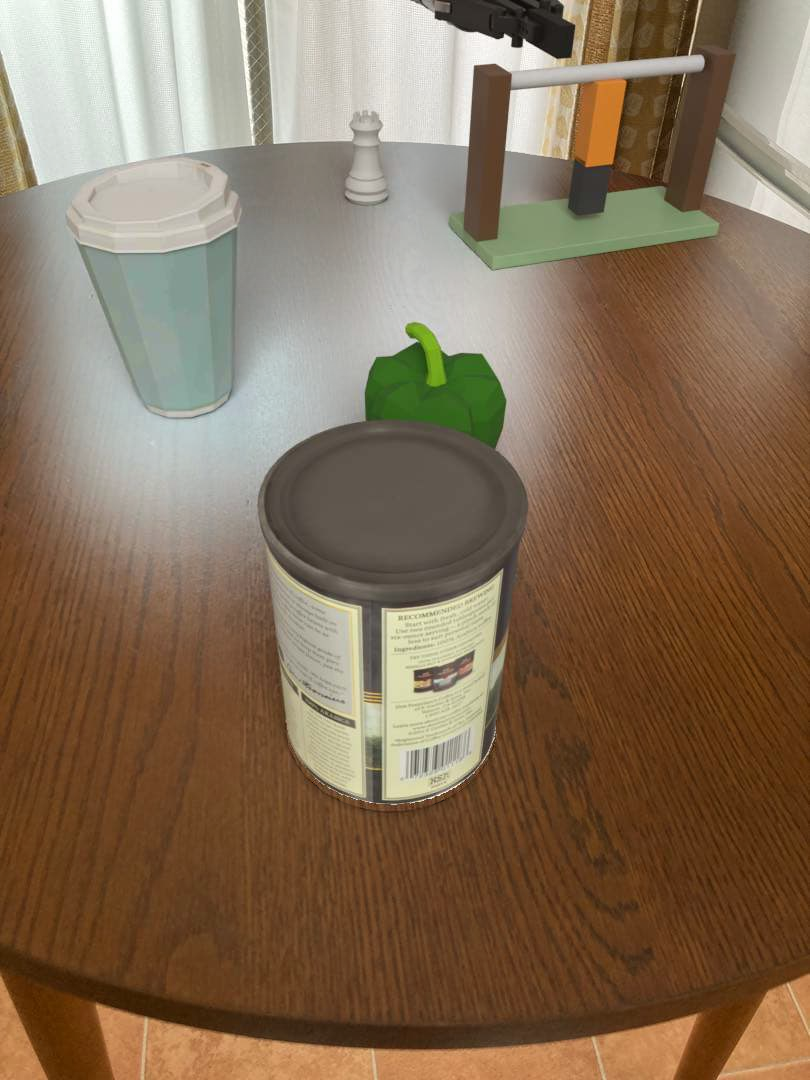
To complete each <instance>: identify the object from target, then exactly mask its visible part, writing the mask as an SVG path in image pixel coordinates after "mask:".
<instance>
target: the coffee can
mask: <svg viewBox="0 0 810 1080" xmlns="http://www.w3.org/2000/svg"><path fill="white" fill-rule="evenodd" d="M528 514H529V499H528V494H527V489H526V488H525V485H524V482H523V480H522V479H521V476H520V475H519V473H518V471H517V470H516V468H515V467H514V466H513V465H512V464H511V462H510V461H509V460H508V459H507V458H506V457H505V456H504V455H502V453H500V452H499V451H498V450H496V449H493V448H492V447H491V446H489V445H488V444H486V443H484V442H483V441H481V440H479V439H477V438H475V437H473V436H470V435H468V434H466V433H464V432H461V431H457V430H455V429H452V428H449V427H446V426H442V425H438V424H433V423H428V422H422V421H413V420H371V421H366V420H364V421H357V422H351V423H346V424H342V425H338V426H334V427H331V428H328V429H326V430H323V431H321V432H317V433H315V434H313V435H311V436H309V437H308V438H305V439H304V440H301V441H300V442H298V443H297V444H295V445H292V446H291V448H289V449H288V450H287V451H285V452H284V453H283V454H282V455H281V456H280V457H279V458H278V459H276V461H275V462H274V463H273V464H272V466H271V467H269V470H268V471H267V472H266V474H265V476H264V478H263V479H262V482H261V484H260V487H259V491H258V496H257V515H258V521H259V525H260V526H259V527H260V530H261V533H262V535H263V538H264V543H265V552H266V561H267V570H268V578H269V589H270V594H271V603H272V611H273V619H274V629H275V636H276V646H277V652H278V661H279V669H280V679H281V688H282V696H283V705H284V713H285V722H286V723H287V730H288V735H289V739H290V742H291V745H292V747H293V749H294V751H295V753H296V755H297V757H298V758H299V760H300V761H301V763H302V764H303V765H304V766H305V768H307V770H308V771H309V772H310V773H311V774H312V775H313V776H314V777H315V779H317V780H318V781H319V782H321V783H322V784H323V785H326V786H327V787H328V788H329V789H332V790H334V791H336V792H338V793H339V794H341V795H345V796H347V797H351V798H353V799H356V800H358V799H359V800H362V801H365V802H369V803H376V804H391V805H397V804H404V803H410V804H411V803H415V802H421V801H424V800H426V799H432V798H434V797H435V796H440V795H441V794H443V793H446V792H448V791H449V790H452V789H453V788H456V787H457V786H458V785H460V784H461V783H462V782H464V781H465V780H466V779H468V778H469V777H470V776H471V775H472V774H474V773H475V771H476V770H477V769H478V768H479V766H480V765H481V764H482V763H483V761H484V760H485V758H486V756H487V755H488V754H489V751H490V748H491V746H492V743H493V741H494V739H495V737H494V736H495V733H496V731H495V730H496V720H497V721H498V711H499V705H500V698H501V691H502V690H501V689H502V682H503V675H504V674H503V673H504V665H505V658H506V651H507V643H508V636H509V627H510V620H511V613H512V605H513V597H514V590H515V582H516V575H517V567H518V560H519V559H518V558H519V552H520V544H521V542H522V539H523V536H524V534H525V530H526V526H527V523H528V516H529V515H528Z"/></svg>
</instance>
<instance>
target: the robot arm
mask: <svg viewBox="0 0 810 1080" xmlns="http://www.w3.org/2000/svg"><path fill="white" fill-rule="evenodd" d="M410 2H414V3H415V4H418V5H420V6H423V7H424V8H425V9H426V10H429V11H430V12H432V13H433V14H434V20H437V21H443V22H446V24H447V25H449V26H452V27H454V28H456V29H457V30H459V31H461V32H465V33H479V34H481V35H484V36H486V37H490V38H492V39H494V40H501V39H504V38H505V35H506V36H507V37H509V38H511V41H510V47H511V48H513V49H521V48H523V47H524V40H525V42H526V43H528V44H530V45H532V46H534V47H535V48H536V49H538V50H541V51H542V52H544V53H546V54H547V55H549V56H551V57H553V58H554V59H556V60H563V59H572V56H573V47H574V42H575V33H576V24H575V23H573V22H571V21H569V20H567V19H565V18H564V11H565V5H564V4H563V3H562V2H561V1H560V0H410Z"/></svg>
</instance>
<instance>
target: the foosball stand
mask: <svg viewBox="0 0 810 1080" xmlns="http://www.w3.org/2000/svg"><path fill="white" fill-rule="evenodd" d="M693 55H702V56H703V57H704V61H705V63H704V68H703V70H702V71H701V72H698V73H689V79H688V83H687V89H686V93H685V98H684V103H683V108H682V113H681V118H680V122H679V127H678V131H677V135H676V141H675V146H674V149H673V150H674V151H673V154H672V155H673V156H672V161H671V165H670V171H669V173H668V174H669V175H668V180H667V185H666V187H665V186H663V185H658V186H650V187H643V188H635V189H634V188H633V189H626V190H620V191H613V192H612V191H611V192H607V196H606V202H605V208H604V212H603V213H595V214H588V215H581V216H577V215H576V214H575V213H573V212H572V211H571V210H570V209H568V202H569V197H568V198H560V199H553V200H546V201H544V200H543V201H537V202H531V203H523V204H515V205H507V206H501V204H502V203H501V202H502V191H503V181H504V180H503V179H504V170H505V169H504V168H505V159H506V147H507V136H508V135H507V134H508V124H509V123H508V122H509V111H510V102H511V101H510V100H511V91H512V90H511V80H512V74H511V73H510V71H508V70H506V69H505V68H503V67H502V66H500V65H499V64H497V63H486V64H475V65H473V73H472V88H471V89H472V90H471V102H470V103H471V105H470V121H469V134H468V135H469V137H468V151H467V152H468V153H467V168H466V181H465V182H466V183H465V199H464V211H463V212H456V213H449V216H448V227H449V226H450V227H451V228H452V229H453V230H454V231H455V232H456V233H455V232H454V231H453V230H452V229H451V228H450V227H449V228H450V229H451V230H452V231H453V232H454V233H455V234H456V236H458V237H459V238H460V239H461V241H463V242H464V243H465V244H466V245H467V246H468V247H469V249H471V251H473V253H475V254H476V255H477V256H478V257H479V258H480V259H481V260H482V262H484V263H485V265H487V267H488V268H490V270H492V271H494V270H502V269H507V268H508V269H509V268H514V267H521V266H526V265H527V266H528V265H534V264H540V263H547V262H554V261H560V260H565V259H566V260H567V259H573V258H574V259H575V258H579V257H586V256H593V255H599V254H606V253H611V252H613V253H614V252H618V251H624V250H631V249H638V248H644V247H651V246H658V245H664V244H669V243H670V244H671V243H676V242H682V241H683V242H684V241H690V240H697V239H703V238H709V237H715V236H718V234H719V233H718V232H719V229H720V222H718V221H717V220H715V219H713V218H712V217H711V216H709V215H708V214H706V213H704V212H703V211H702V210H700V209H701V205H702V200H703V197H704V192H705V188H706V184H707V179H708V174H709V171H710V166H711V162H712V158H713V153H714V149H715V145H716V142H717V141H716V140H717V137H718V132H719V130H720V129H719V128H720V125H721V124H720V123H721V119H722V116H723V112H724V108H725V102H726V98H727V94H728V90H729V86H730V82H731V77H732V74H733V69H734V64H735V60H736V56H737V53H735V52H733V51H731V50H729V49H725V48H724V47H721V46H719V45H717V44H707V45H706V44H705V45H696V46H695V50H694V54H693Z"/></svg>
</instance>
